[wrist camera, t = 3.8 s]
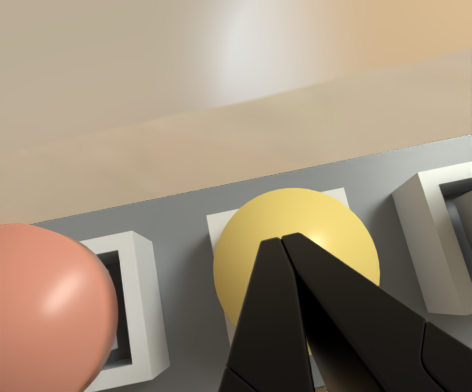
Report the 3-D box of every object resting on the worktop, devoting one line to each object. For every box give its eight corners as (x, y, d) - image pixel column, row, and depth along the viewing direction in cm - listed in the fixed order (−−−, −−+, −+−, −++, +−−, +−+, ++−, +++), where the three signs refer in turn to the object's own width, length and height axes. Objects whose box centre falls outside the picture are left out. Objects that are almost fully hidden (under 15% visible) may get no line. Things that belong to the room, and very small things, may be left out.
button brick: (155, 376, 14) (111, 410, 10) (9, 406, 14) (-99, 453, 10) (136, 232, 16) (89, 206, 11) (2, 259, 16) (-97, 244, 11)
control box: (557, 318, 20) (710, 328, 13) (41, 424, 20) (-68, 488, 13) (493, 150, 22) (596, 86, 16) (28, 245, 22) (-71, 222, 16)
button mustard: (362, 326, 17) (400, 337, 12) (236, 352, 17) (230, 371, 12) (330, 204, 18) (354, 173, 13) (213, 228, 18) (200, 205, 13)
